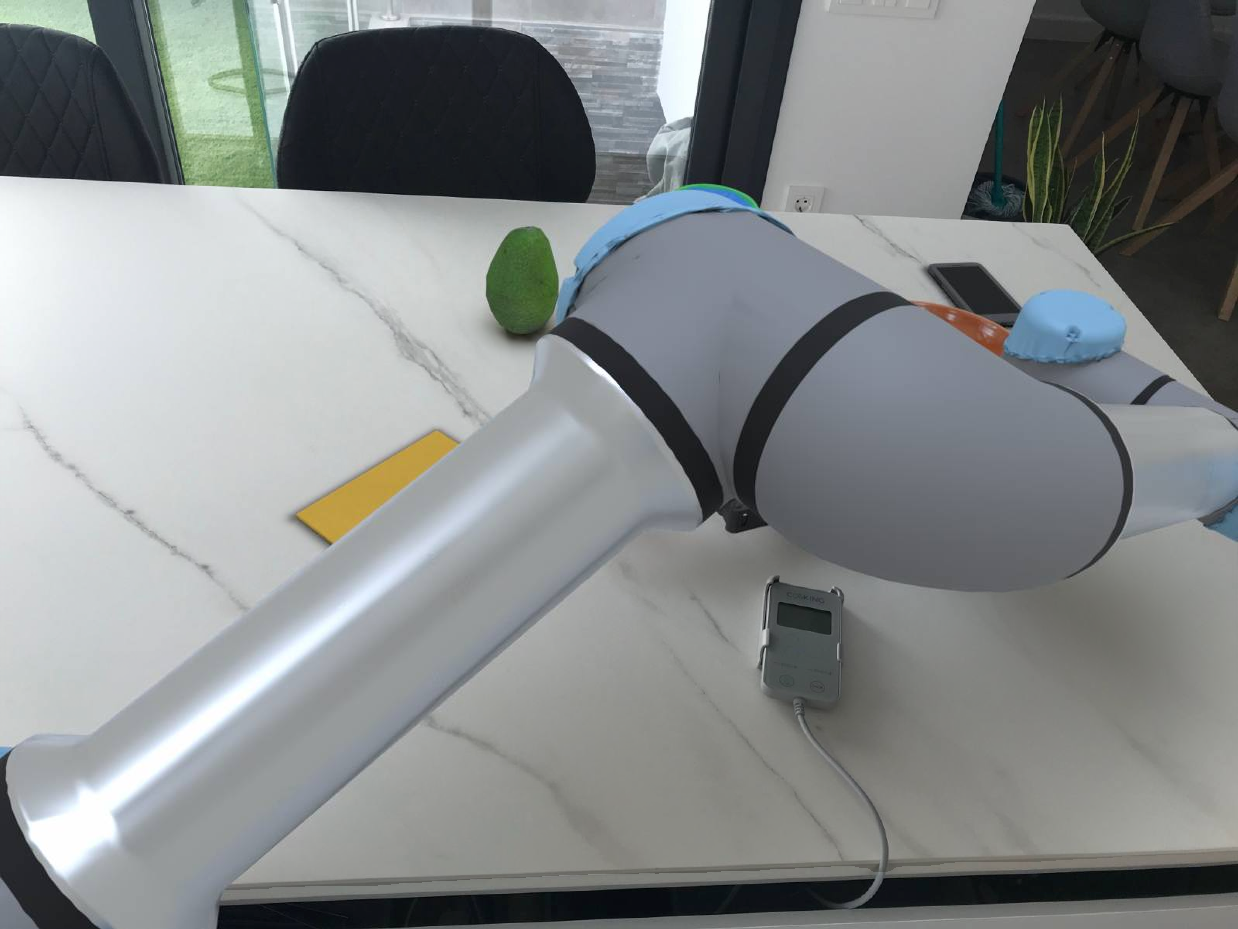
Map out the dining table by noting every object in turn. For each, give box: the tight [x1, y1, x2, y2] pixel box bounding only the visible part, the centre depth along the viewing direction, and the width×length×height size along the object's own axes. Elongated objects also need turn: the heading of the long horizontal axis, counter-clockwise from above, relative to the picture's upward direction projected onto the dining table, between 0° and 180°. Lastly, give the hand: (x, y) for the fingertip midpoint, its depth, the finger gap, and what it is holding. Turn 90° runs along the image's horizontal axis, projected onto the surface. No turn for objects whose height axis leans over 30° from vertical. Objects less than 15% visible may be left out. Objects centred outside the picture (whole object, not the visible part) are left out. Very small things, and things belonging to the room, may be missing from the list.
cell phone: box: [927, 261, 1023, 327], centre depth 120 cm, size 7×14×1 cm, turn 11°
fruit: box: [485, 225, 560, 335], centre depth 104 cm, size 8×8×12 cm
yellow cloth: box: [295, 429, 460, 545], centre depth 84 cm, size 16×16×1 cm
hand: (640, 429), depth 82 cm, fingers open, 13 cm apart
